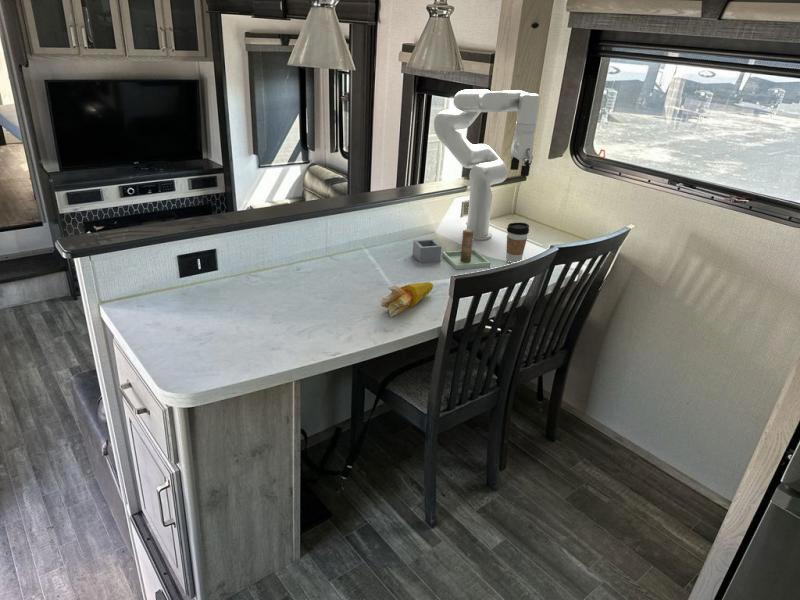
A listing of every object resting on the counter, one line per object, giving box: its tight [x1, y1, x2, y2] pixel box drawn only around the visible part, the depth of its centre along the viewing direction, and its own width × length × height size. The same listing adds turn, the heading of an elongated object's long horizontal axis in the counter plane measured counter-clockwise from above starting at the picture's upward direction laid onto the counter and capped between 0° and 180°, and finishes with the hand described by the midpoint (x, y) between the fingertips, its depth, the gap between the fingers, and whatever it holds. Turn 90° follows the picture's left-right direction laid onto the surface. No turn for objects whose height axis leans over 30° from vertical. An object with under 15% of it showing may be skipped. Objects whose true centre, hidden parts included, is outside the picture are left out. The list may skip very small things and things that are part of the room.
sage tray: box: [441, 248, 491, 270], centre depth 223 cm, size 14×14×2 cm
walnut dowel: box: [460, 229, 474, 263], centre depth 220 cm, size 4×4×12 cm
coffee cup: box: [505, 222, 530, 264], centre depth 224 cm, size 8×8×15 cm
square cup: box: [412, 238, 442, 264], centre depth 223 cm, size 8×8×7 cm
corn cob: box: [379, 281, 434, 319], centre depth 188 cm, size 8×8×25 cm
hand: (519, 172), depth 226 cm, fingers open, 9 cm apart
